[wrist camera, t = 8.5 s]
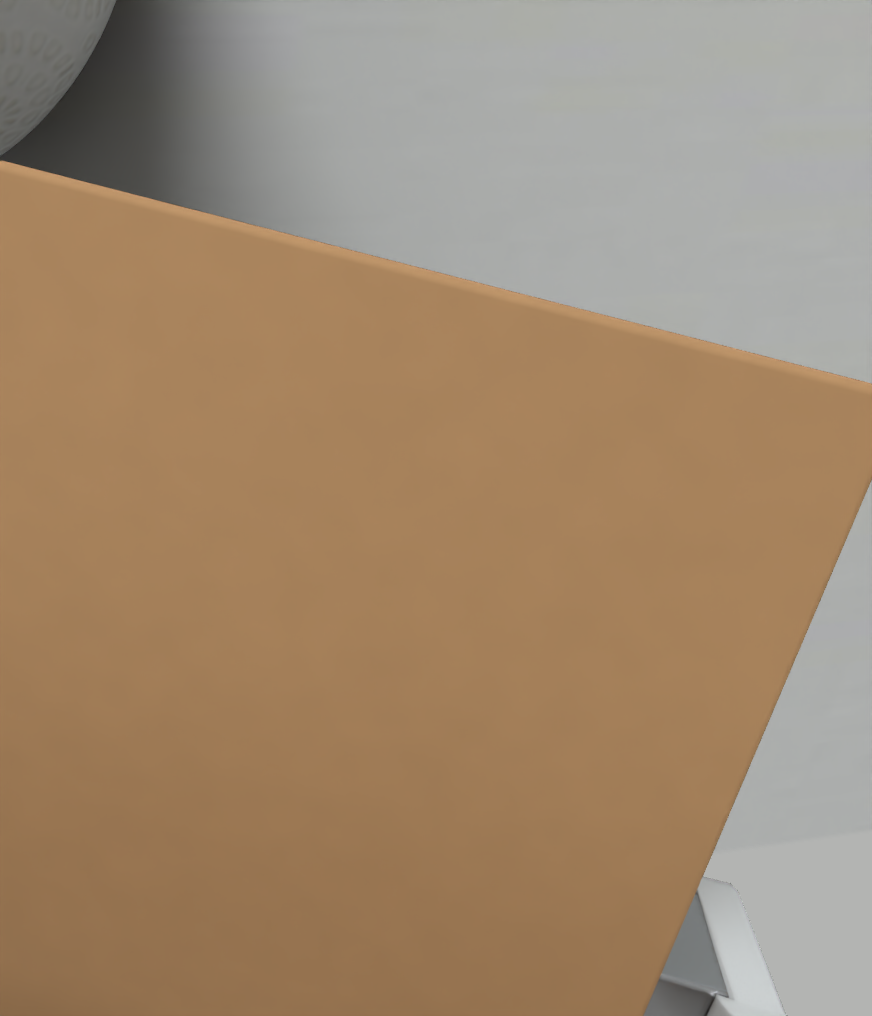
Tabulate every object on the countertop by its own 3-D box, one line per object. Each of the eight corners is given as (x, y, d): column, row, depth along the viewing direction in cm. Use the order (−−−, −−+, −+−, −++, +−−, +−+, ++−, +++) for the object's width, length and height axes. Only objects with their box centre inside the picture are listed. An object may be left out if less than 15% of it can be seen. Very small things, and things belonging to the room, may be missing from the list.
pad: (731, 356, 8) (914, 394, 4) (464, 1110, 12) (437, 1506, 8) (224, 225, 9) (-16, 156, 5) (103, 1001, 12) (-97, 1332, 8)
